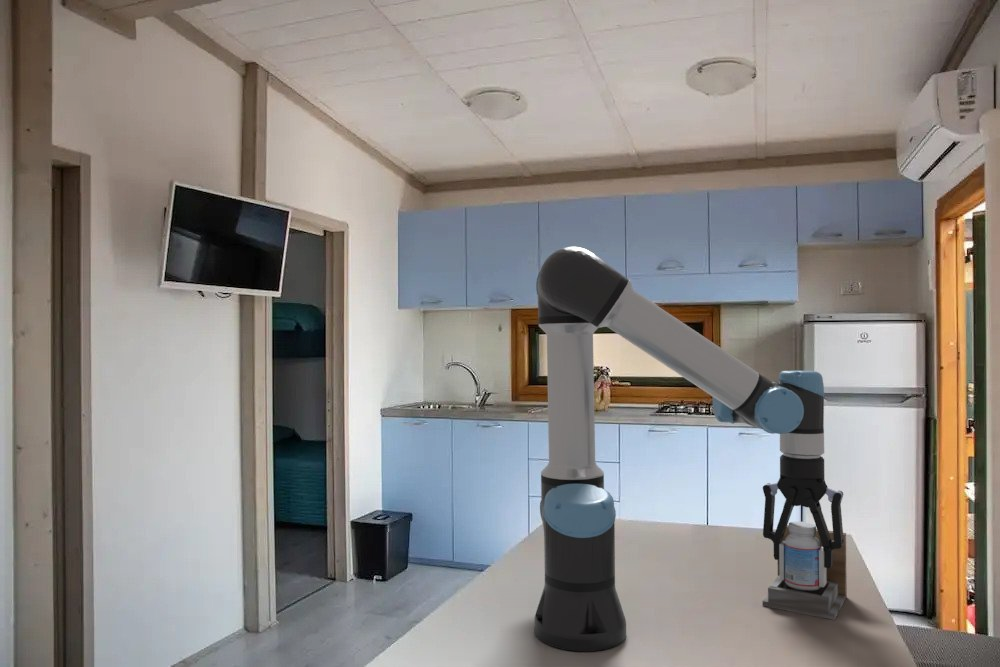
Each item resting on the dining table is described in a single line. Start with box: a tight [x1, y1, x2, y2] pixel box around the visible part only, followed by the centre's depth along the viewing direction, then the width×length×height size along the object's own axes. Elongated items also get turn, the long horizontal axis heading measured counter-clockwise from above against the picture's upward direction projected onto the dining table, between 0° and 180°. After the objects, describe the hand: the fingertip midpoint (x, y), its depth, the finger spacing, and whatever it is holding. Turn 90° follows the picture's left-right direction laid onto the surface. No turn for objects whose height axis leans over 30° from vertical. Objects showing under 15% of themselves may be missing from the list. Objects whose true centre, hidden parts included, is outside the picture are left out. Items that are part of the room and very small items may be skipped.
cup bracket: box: [762, 524, 848, 621], centre depth 132 cm, size 13×12×12 cm
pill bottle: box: [785, 521, 821, 591], centre depth 131 cm, size 6×6×11 cm
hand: (802, 581), depth 130 cm, fingers closed on pill bottle, 6 cm apart
